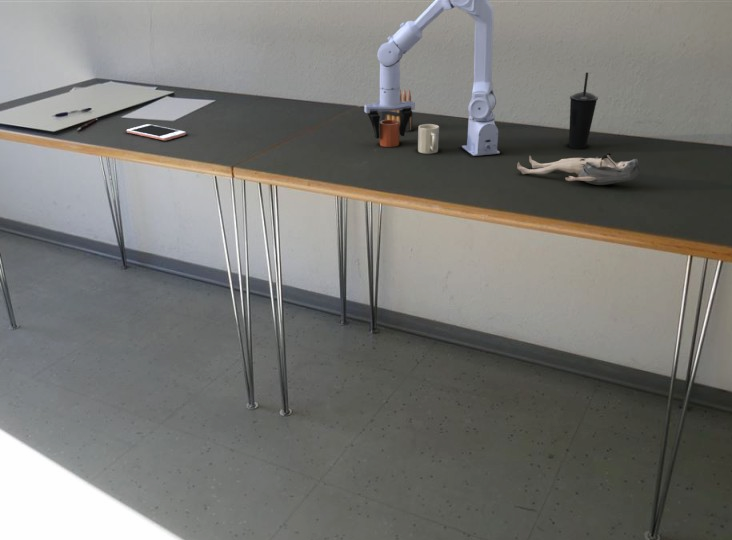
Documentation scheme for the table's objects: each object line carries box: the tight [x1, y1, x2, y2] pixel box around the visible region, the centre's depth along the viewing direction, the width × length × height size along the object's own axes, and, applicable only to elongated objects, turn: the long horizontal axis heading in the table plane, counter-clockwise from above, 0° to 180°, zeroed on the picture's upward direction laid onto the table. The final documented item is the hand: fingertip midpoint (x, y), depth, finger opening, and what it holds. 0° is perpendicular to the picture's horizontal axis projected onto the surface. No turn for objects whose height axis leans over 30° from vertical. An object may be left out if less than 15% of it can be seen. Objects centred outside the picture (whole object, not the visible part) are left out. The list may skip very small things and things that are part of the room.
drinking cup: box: [568, 72, 599, 149], centre depth 225 cm, size 8×8×20 cm
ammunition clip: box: [380, 88, 414, 132], centre depth 248 cm, size 11×2×12 cm, turn 53°
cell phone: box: [126, 123, 187, 142], centre depth 250 cm, size 9×18×1 cm, turn 53°
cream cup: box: [417, 123, 440, 155], centre depth 226 cm, size 8×6×7 cm
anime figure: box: [516, 152, 640, 186], centre depth 202 cm, size 10×7×30 cm
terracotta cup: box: [379, 120, 400, 148], centre depth 234 cm, size 8×6×6 cm
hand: (389, 136), depth 234 cm, fingers open, 7 cm apart
